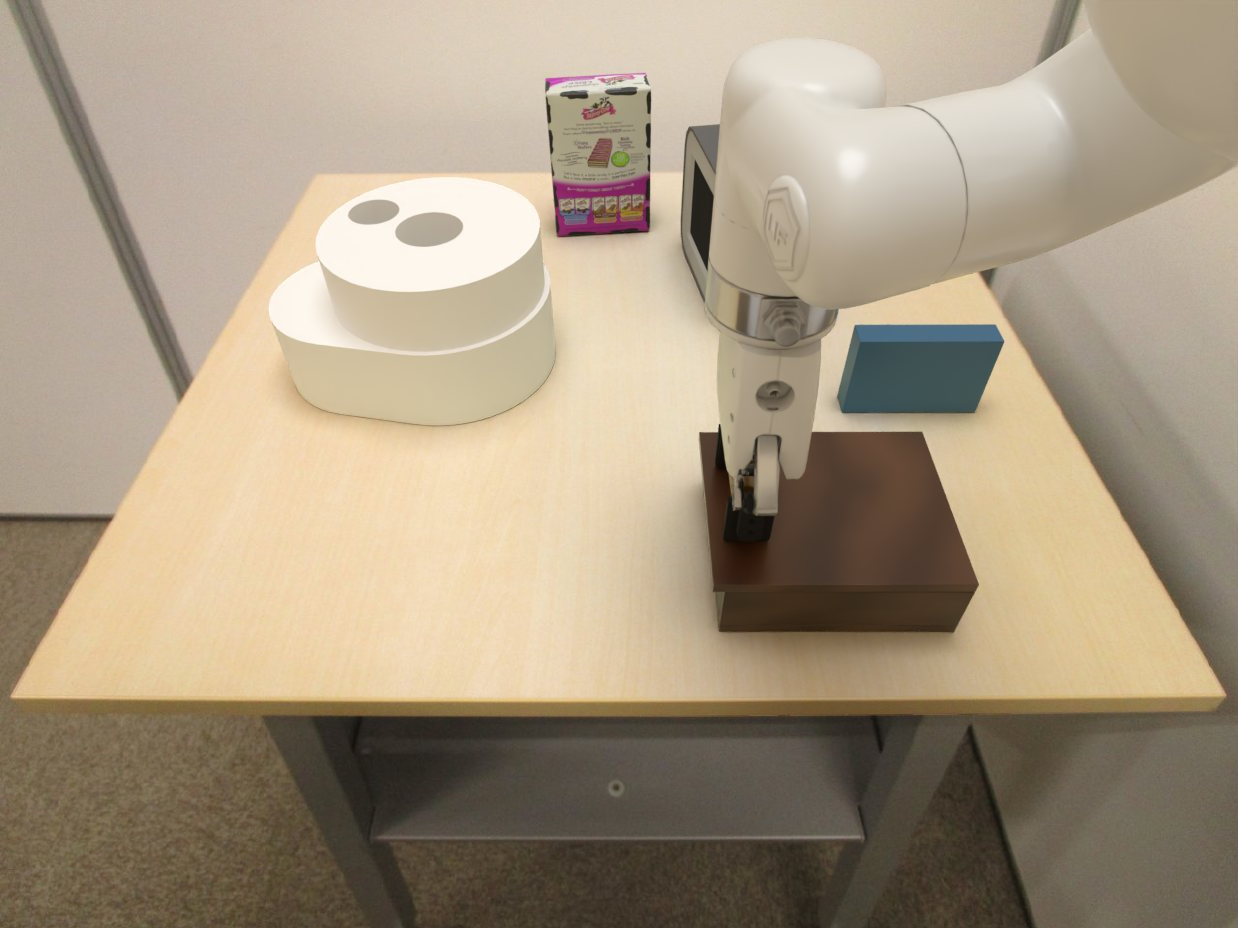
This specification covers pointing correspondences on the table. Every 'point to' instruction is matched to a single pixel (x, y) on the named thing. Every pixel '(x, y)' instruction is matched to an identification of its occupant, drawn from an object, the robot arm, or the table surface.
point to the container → (421, 305)
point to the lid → (844, 522)
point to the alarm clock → (698, 198)
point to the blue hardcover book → (918, 368)
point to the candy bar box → (600, 152)
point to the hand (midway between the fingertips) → (740, 498)
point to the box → (840, 611)
